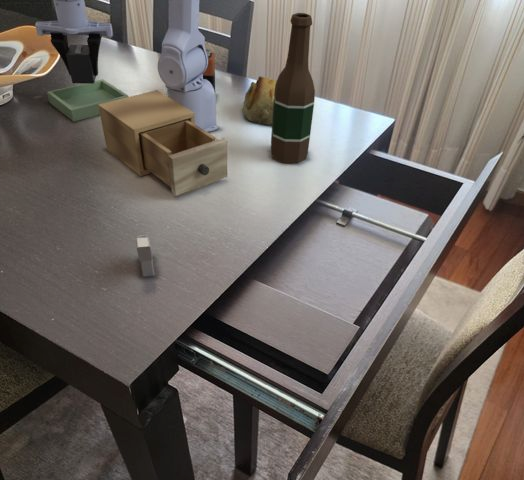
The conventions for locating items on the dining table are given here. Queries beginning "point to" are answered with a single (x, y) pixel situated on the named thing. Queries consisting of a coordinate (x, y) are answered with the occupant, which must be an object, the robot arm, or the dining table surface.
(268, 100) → the pastry
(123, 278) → the dining table surface
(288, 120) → the beer bottle
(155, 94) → the cabinet
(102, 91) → the tray
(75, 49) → the black rectangular block
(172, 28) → the robot arm
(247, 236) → the dining table surface
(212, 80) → the battery
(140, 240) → the grey upright block
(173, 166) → the drawer
